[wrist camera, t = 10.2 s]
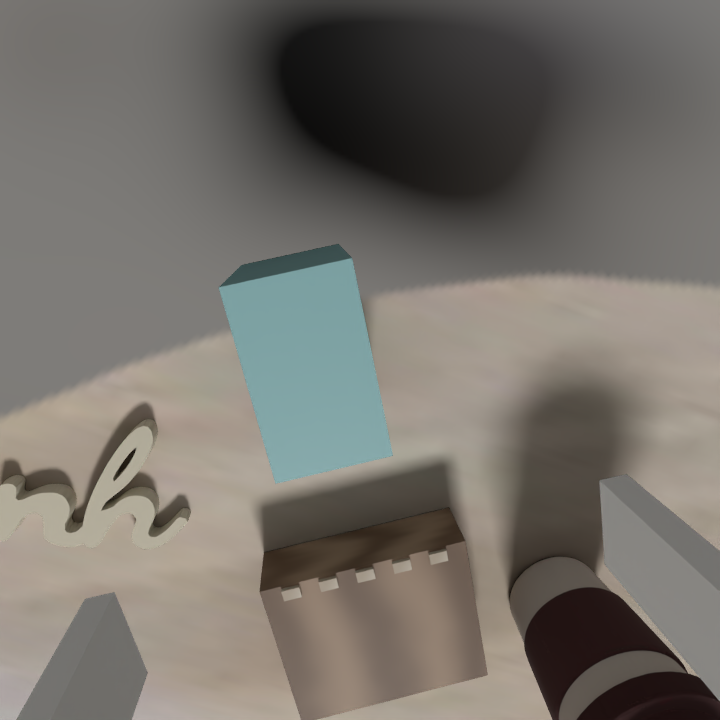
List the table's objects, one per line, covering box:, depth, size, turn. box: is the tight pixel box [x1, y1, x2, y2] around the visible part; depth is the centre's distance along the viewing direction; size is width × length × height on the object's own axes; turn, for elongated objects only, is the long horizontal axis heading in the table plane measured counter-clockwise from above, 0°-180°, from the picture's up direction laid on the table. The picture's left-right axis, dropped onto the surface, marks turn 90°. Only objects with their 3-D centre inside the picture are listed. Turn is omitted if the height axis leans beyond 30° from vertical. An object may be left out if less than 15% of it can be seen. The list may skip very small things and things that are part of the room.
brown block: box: [260, 508, 488, 720], centre depth 38 cm, size 14×12×4 cm
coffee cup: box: [510, 557, 720, 720], centre depth 34 cm, size 10×10×15 cm
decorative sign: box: [0, 419, 191, 549], centre depth 34 cm, size 23×2×10 cm
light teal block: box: [219, 244, 393, 483], centre depth 28 cm, size 6×10×9 cm, turn 12°
